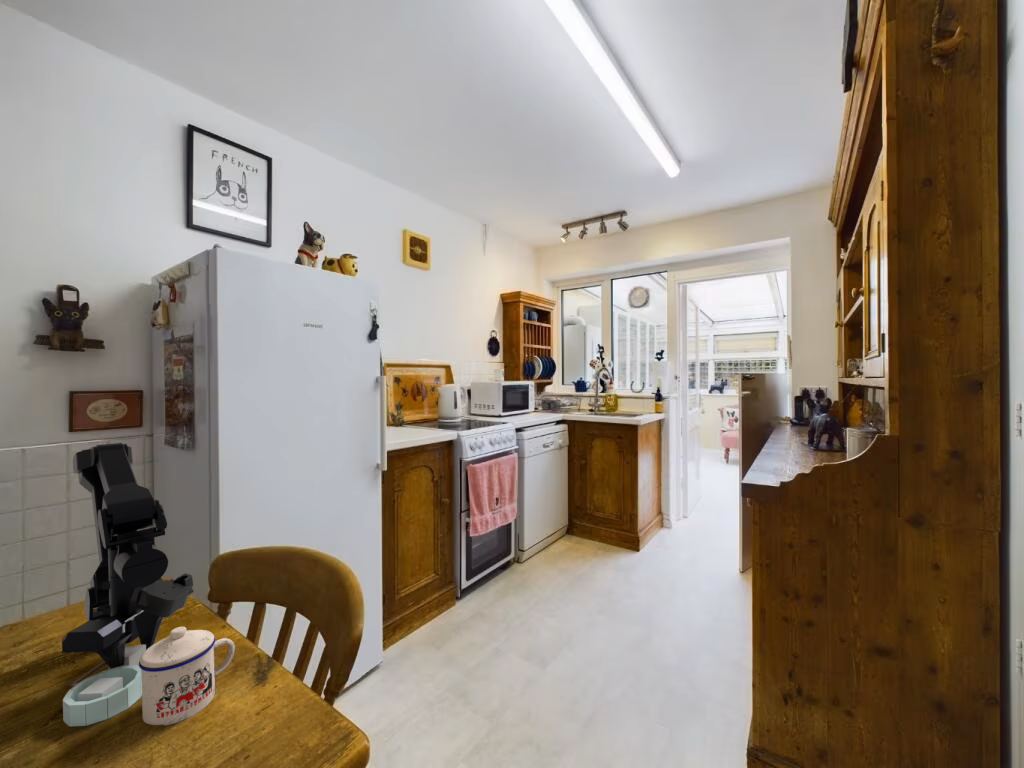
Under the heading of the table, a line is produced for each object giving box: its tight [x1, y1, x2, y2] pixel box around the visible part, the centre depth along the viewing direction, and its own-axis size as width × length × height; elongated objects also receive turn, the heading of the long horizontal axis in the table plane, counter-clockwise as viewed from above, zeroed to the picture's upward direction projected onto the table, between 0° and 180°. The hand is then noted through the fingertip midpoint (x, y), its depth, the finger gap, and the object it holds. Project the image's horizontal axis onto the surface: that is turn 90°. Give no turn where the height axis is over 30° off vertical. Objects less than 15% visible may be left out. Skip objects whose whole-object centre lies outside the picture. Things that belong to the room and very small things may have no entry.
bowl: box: [62, 665, 142, 727], centre depth 65 cm, size 9×9×4 cm
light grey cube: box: [78, 677, 123, 702], centre depth 64 cm, size 3×3×3 cm
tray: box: [67, 660, 106, 688], centre depth 73 cm, size 8×7×1 cm
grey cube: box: [107, 644, 146, 670], centre depth 73 cm, size 3×3×3 cm
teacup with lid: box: [139, 626, 236, 727], centre depth 66 cm, size 12×9×12 cm
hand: (133, 661), depth 74 cm, fingers open, 5 cm apart
